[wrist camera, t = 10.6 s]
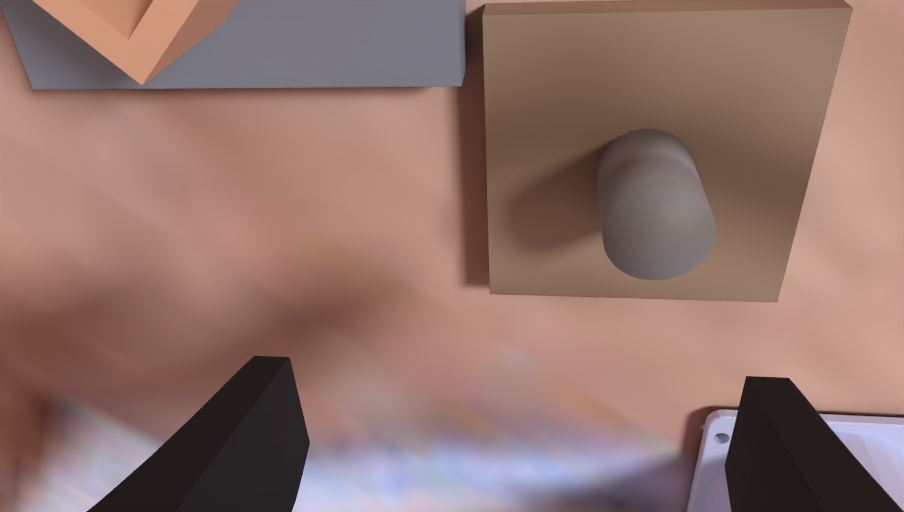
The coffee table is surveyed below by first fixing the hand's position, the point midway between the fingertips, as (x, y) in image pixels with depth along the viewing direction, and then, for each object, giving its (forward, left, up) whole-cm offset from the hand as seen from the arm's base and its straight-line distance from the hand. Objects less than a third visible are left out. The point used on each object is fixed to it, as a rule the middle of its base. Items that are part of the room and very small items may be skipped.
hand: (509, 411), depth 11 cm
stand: (0, -3, -9) cm, 10 cm away
